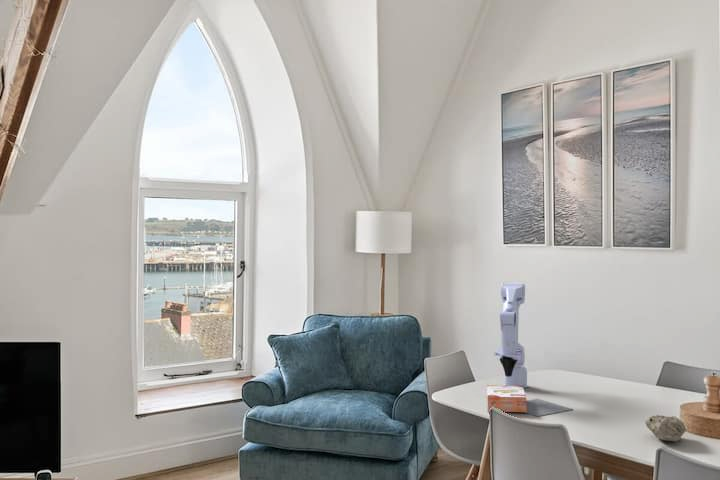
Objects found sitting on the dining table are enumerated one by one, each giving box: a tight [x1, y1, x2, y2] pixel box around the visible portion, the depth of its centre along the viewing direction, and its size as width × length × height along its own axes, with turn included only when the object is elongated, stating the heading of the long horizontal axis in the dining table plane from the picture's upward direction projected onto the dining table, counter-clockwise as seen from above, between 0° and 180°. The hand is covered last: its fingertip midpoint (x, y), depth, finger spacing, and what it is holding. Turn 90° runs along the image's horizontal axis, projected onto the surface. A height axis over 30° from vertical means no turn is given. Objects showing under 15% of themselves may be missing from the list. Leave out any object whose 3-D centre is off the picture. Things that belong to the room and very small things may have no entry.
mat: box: [523, 398, 574, 418], centre depth 252 cm, size 18×18×1 cm
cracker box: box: [486, 384, 527, 413], centre depth 253 cm, size 14×6×21 cm
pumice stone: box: [645, 414, 687, 443], centre depth 212 cm, size 14×12×8 cm
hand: (508, 376), depth 265 cm, fingers closed
